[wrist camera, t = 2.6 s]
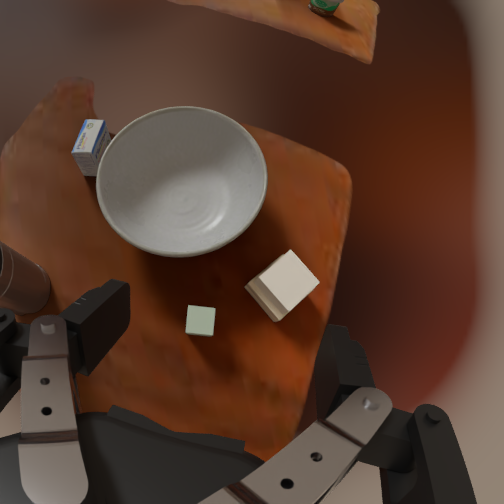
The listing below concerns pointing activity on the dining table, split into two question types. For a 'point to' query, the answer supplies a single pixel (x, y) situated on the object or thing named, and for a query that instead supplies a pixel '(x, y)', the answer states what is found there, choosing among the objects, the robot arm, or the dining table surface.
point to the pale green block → (200, 320)
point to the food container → (324, 7)
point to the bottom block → (262, 299)
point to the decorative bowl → (181, 181)
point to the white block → (286, 282)
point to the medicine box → (91, 146)
